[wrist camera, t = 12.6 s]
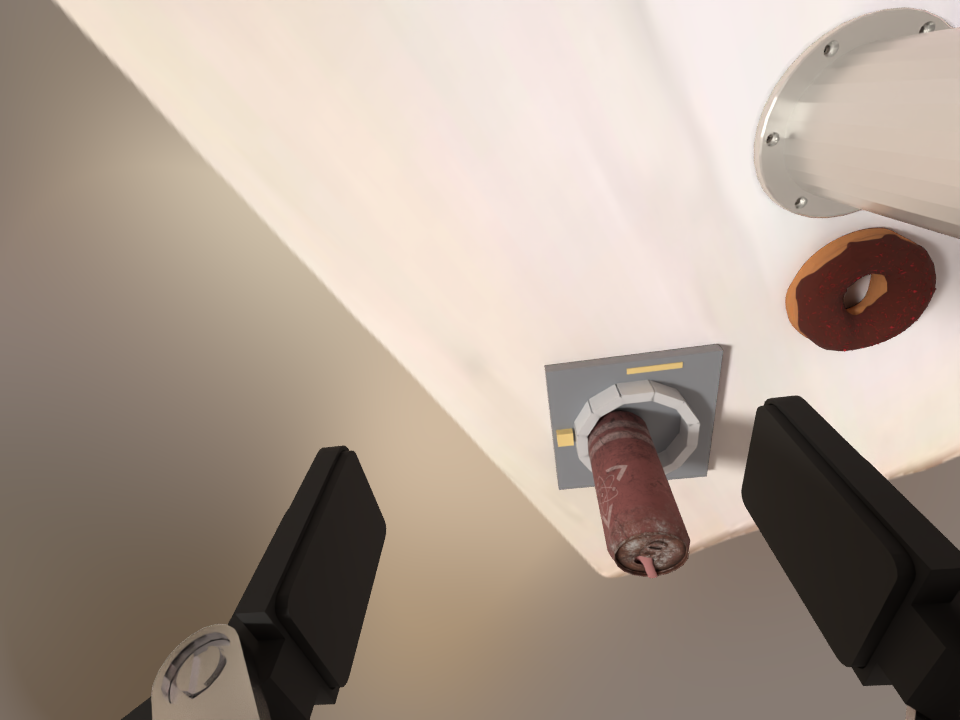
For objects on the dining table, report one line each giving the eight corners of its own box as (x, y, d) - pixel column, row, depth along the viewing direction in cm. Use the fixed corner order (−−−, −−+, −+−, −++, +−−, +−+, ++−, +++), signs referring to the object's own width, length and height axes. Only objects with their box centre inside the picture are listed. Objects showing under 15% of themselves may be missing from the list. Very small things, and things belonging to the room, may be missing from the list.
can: (596, 459, 47) (623, 588, 35) (576, 418, 44) (599, 543, 32) (653, 444, 45) (702, 574, 33) (637, 399, 42) (684, 525, 30)
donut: (789, 237, 35) (820, 251, 32) (924, 214, 34) (971, 227, 30) (771, 344, 40) (796, 366, 37) (887, 328, 39) (925, 350, 35)
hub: (717, 343, 40) (733, 361, 37) (702, 468, 48) (714, 490, 45) (544, 365, 42) (547, 384, 39) (557, 481, 50) (561, 503, 47)
